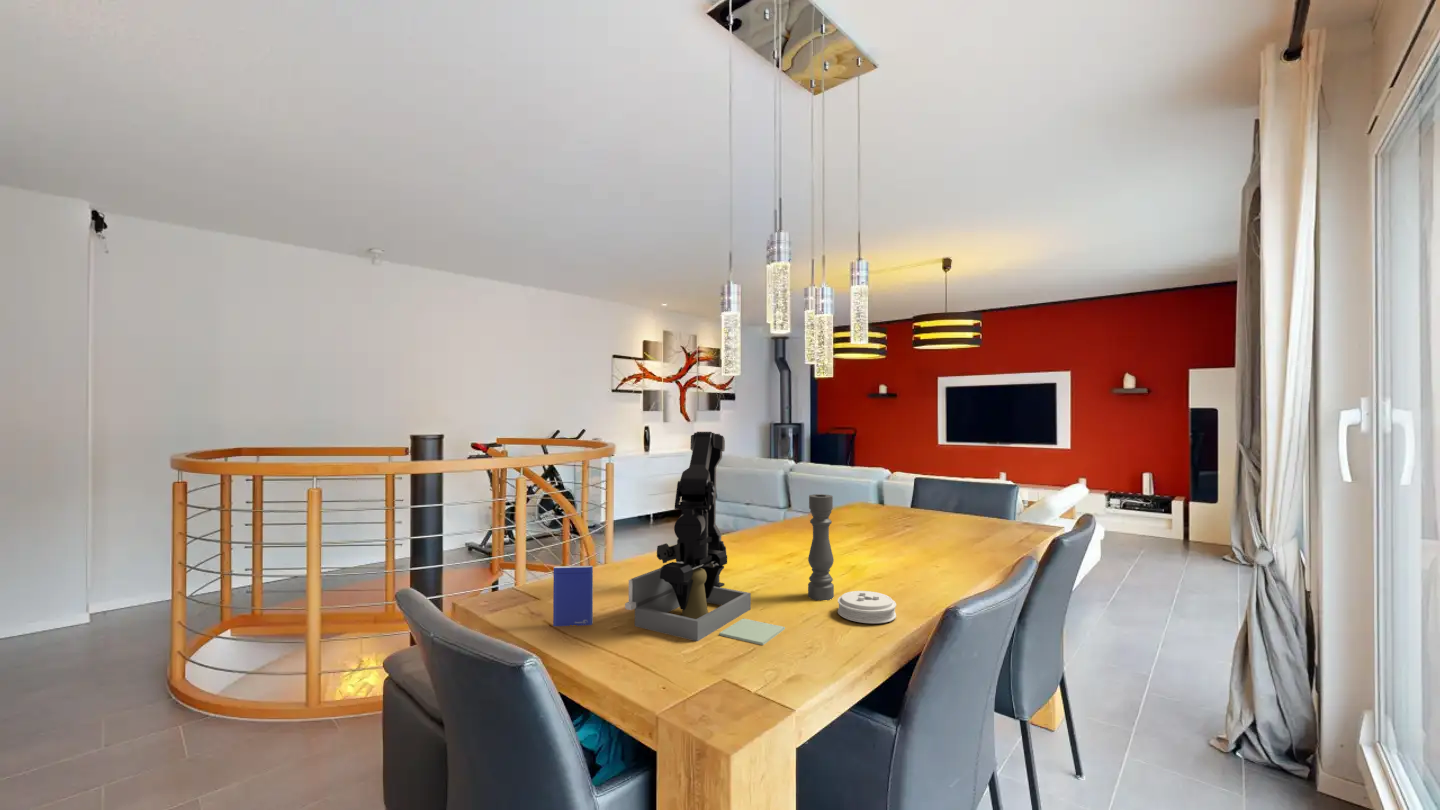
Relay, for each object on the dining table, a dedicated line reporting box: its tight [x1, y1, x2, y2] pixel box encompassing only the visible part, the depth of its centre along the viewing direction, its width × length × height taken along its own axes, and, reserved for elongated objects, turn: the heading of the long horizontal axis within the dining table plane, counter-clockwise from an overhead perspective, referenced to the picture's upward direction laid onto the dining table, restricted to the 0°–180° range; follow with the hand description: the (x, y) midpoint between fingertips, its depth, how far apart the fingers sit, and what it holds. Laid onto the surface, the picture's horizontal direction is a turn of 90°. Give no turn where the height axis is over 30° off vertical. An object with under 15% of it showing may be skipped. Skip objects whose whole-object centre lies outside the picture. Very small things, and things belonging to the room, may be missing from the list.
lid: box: [837, 590, 897, 624], centre depth 135 cm, size 13×13×5 cm
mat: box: [718, 618, 786, 646], centre depth 125 cm, size 10×10×1 cm
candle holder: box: [807, 493, 835, 602], centre depth 148 cm, size 6×6×25 cm
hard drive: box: [552, 565, 594, 627], centre depth 129 cm, size 2×8×12 cm, turn 95°
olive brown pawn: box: [681, 568, 709, 619], centre depth 133 cm, size 6×6×11 cm
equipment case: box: [624, 561, 752, 642], centre depth 133 cm, size 24×17×10 cm
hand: (694, 603), depth 133 cm, fingers open, 9 cm apart
